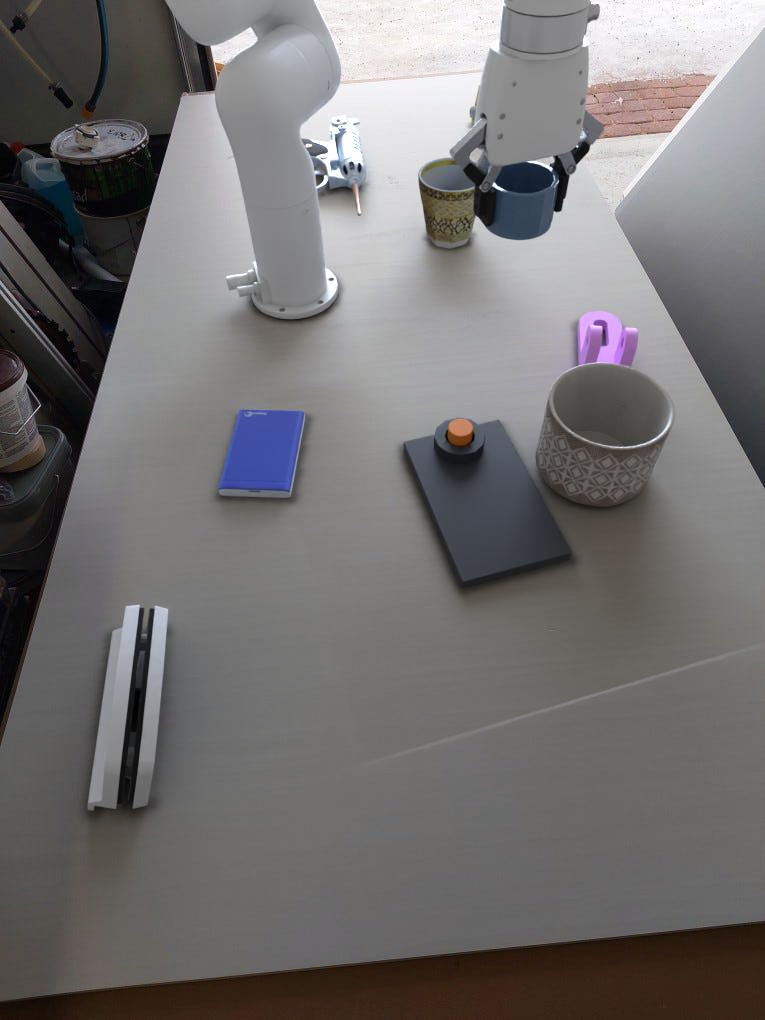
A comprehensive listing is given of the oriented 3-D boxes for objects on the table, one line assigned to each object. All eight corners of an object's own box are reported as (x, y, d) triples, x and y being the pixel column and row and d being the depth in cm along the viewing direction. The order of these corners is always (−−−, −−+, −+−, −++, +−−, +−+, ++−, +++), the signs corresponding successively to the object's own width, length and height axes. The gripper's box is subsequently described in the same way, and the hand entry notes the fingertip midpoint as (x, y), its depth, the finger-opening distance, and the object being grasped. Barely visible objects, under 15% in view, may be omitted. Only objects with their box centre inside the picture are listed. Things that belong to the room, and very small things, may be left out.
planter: (664, 503, 76) (696, 439, 68) (553, 520, 75) (572, 457, 67) (622, 422, 83) (645, 355, 75) (520, 436, 82) (533, 370, 74)
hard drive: (238, 408, 85) (217, 487, 77) (304, 410, 84) (289, 489, 77) (240, 417, 86) (220, 496, 78) (305, 419, 85) (291, 498, 78)
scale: (461, 589, 70) (463, 573, 68) (402, 447, 82) (402, 430, 80) (570, 559, 72) (575, 543, 69) (496, 425, 84) (499, 407, 81)
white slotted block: (112, 635, 68) (115, 582, 61) (162, 637, 69) (171, 586, 62) (87, 814, 58) (86, 777, 50) (146, 813, 59) (153, 776, 52)
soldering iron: (277, 149, 129) (361, 134, 128) (282, 244, 114) (378, 227, 113) (269, 118, 124) (356, 102, 123) (274, 213, 109) (373, 195, 108)
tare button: (452, 449, 78) (453, 438, 77) (444, 432, 80) (444, 421, 78) (475, 443, 78) (476, 433, 77) (466, 426, 80) (467, 416, 79)
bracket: (624, 385, 87) (639, 341, 82) (579, 382, 88) (591, 338, 82) (618, 320, 95) (631, 276, 89) (576, 318, 96) (587, 274, 90)
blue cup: (499, 246, 74) (504, 201, 70) (473, 211, 78) (476, 167, 74) (562, 232, 75) (571, 187, 71) (533, 199, 79) (539, 154, 75)
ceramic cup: (472, 259, 105) (477, 195, 97) (409, 248, 107) (409, 185, 99) (491, 214, 112) (498, 152, 104) (432, 205, 114) (434, 144, 106)
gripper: (609, -2, 65) (574, 182, 79) (436, 26, 62) (431, 211, 76) (651, 26, 61) (606, 215, 75) (467, 57, 58) (456, 247, 72)
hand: (518, 212), depth 76 cm, fingers closed on blue cup, 7 cm apart
